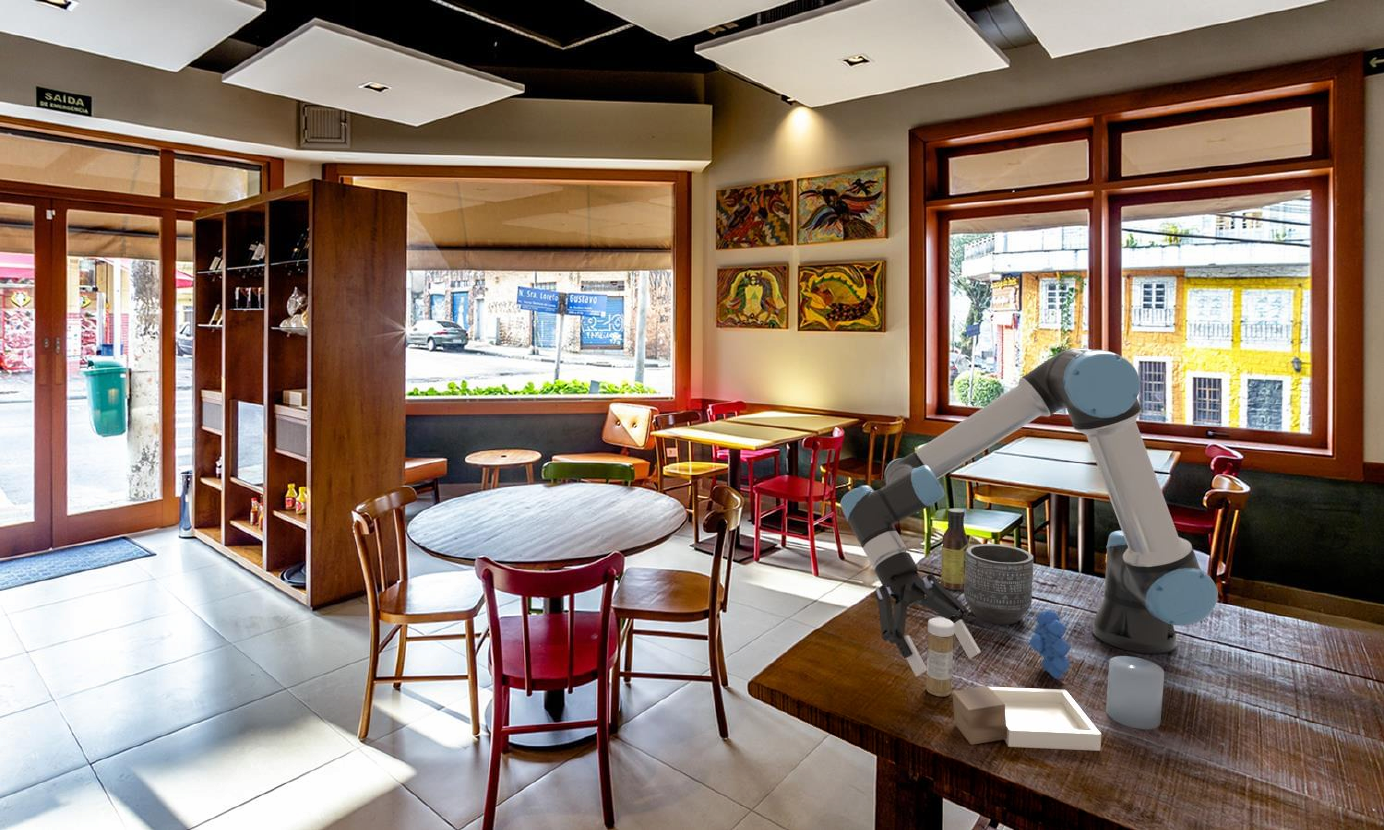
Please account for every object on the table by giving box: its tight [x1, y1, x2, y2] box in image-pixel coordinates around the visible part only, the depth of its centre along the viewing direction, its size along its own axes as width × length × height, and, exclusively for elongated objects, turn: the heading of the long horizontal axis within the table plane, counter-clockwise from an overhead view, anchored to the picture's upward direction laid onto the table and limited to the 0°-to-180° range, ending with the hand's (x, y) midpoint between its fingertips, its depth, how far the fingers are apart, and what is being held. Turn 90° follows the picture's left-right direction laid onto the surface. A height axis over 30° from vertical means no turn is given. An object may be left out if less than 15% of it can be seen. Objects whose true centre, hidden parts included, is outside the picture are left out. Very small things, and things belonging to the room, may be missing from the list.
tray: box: [988, 686, 1102, 752], centre depth 124 cm, size 14×14×3 cm
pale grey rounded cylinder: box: [1105, 655, 1165, 730], centre depth 127 cm, size 8×11×9 cm
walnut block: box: [951, 685, 1007, 746], centre depth 121 cm, size 6×6×6 cm
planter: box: [963, 543, 1034, 626], centre depth 168 cm, size 14×14×15 cm
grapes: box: [1028, 609, 1071, 680], centre depth 142 cm, size 12×7×12 cm, turn 177°
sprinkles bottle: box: [925, 617, 955, 697], centre depth 135 cm, size 5×5×13 cm
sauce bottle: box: [940, 508, 970, 591], centre depth 186 cm, size 7×6×20 cm
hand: (949, 664), depth 133 cm, fingers open, 13 cm apart
